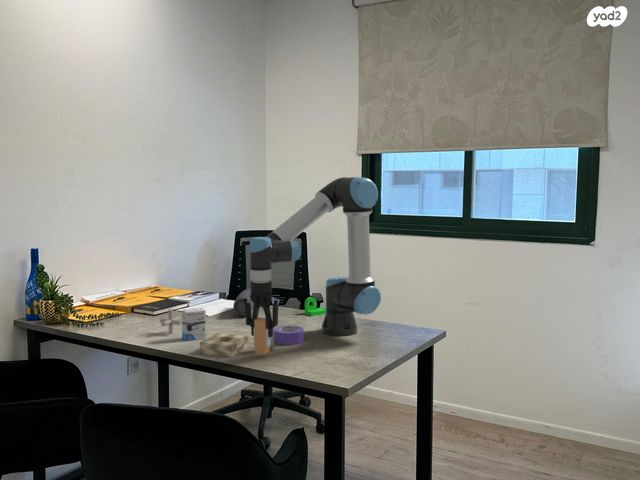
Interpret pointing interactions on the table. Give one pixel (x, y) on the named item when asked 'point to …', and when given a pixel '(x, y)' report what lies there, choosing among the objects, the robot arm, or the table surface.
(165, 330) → the table surface
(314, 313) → the mechanical part
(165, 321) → the pipe connector
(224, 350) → the socket block
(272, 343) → the round bit
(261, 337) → the square bit
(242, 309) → the bluetooth speaker
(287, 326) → the tape roll
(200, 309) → the ink box
